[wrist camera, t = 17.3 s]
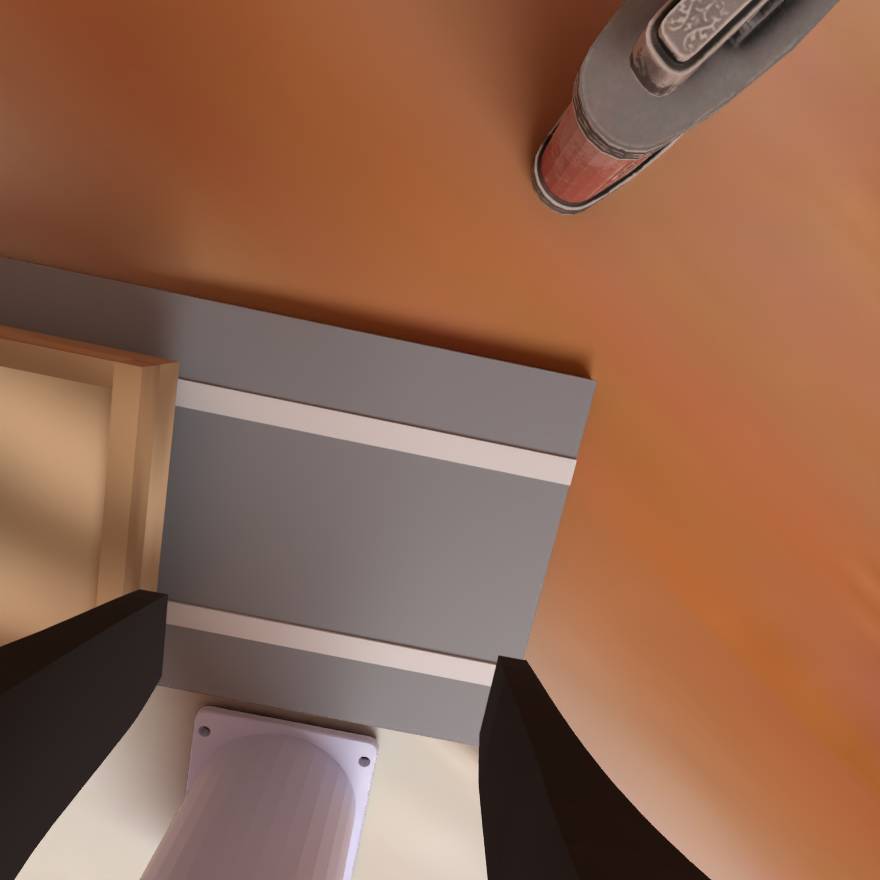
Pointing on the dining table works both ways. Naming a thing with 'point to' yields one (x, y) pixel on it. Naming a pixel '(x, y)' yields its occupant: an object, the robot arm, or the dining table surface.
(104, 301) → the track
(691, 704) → the dining table surface
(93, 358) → the tray
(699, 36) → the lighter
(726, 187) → the dining table surface
